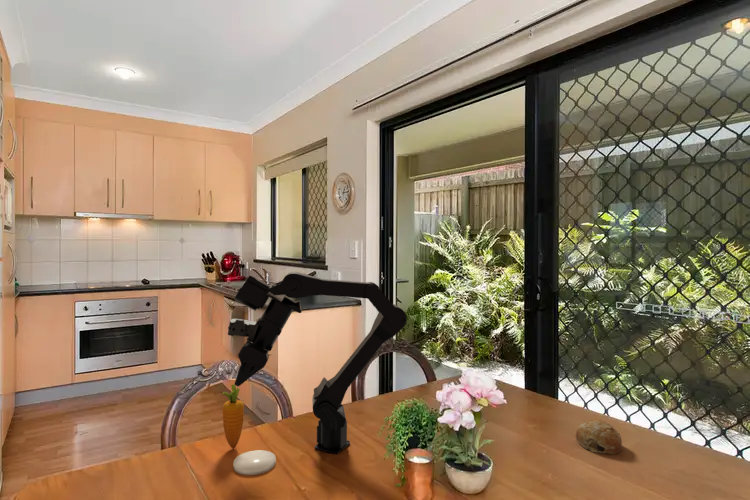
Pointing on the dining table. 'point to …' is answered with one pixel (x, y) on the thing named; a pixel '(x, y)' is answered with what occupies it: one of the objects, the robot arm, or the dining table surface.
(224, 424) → the carrot
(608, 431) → the bread roll
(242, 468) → the smooth white pebble
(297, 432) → the dining table surface
